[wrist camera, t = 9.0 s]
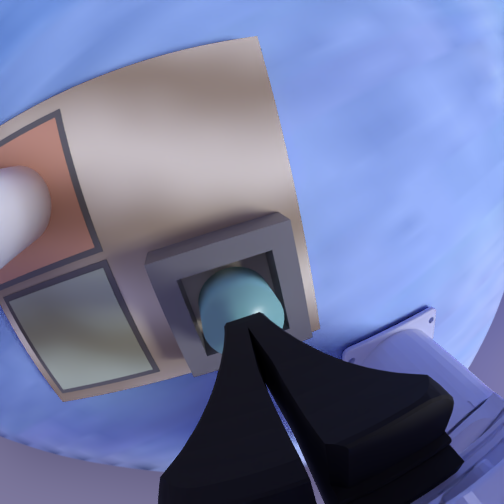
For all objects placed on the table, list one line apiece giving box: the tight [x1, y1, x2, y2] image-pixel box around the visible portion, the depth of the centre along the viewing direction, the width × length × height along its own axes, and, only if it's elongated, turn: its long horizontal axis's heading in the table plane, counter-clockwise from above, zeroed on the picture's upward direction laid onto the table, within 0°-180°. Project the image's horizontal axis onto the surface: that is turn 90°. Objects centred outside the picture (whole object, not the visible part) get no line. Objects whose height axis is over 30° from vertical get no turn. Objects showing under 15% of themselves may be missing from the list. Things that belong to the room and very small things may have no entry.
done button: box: [198, 267, 284, 354], centre depth 13 cm, size 3×3×2 cm
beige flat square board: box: [0, 36, 320, 402], centre depth 13 cm, size 15×16×1 cm
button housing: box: [144, 212, 312, 377], centre depth 14 cm, size 6×6×2 cm
